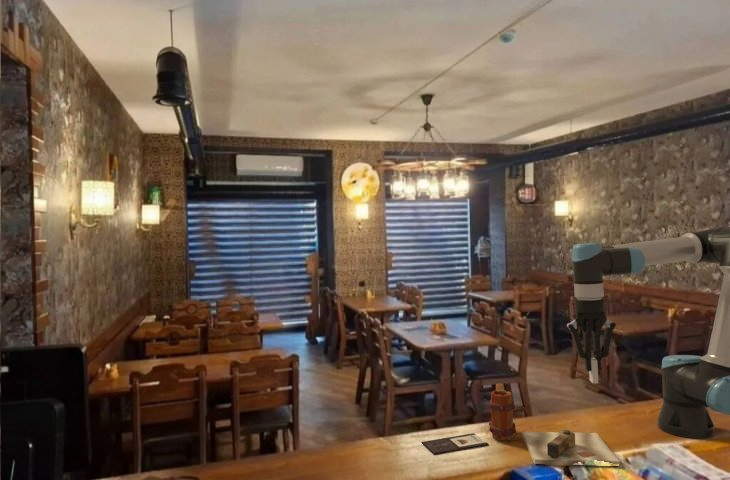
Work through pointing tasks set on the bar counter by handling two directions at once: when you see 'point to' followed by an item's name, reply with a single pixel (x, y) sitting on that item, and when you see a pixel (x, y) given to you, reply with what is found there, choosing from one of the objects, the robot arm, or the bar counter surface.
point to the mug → (502, 414)
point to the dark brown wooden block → (561, 443)
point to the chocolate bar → (454, 444)
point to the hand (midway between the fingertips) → (594, 382)
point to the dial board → (568, 449)
